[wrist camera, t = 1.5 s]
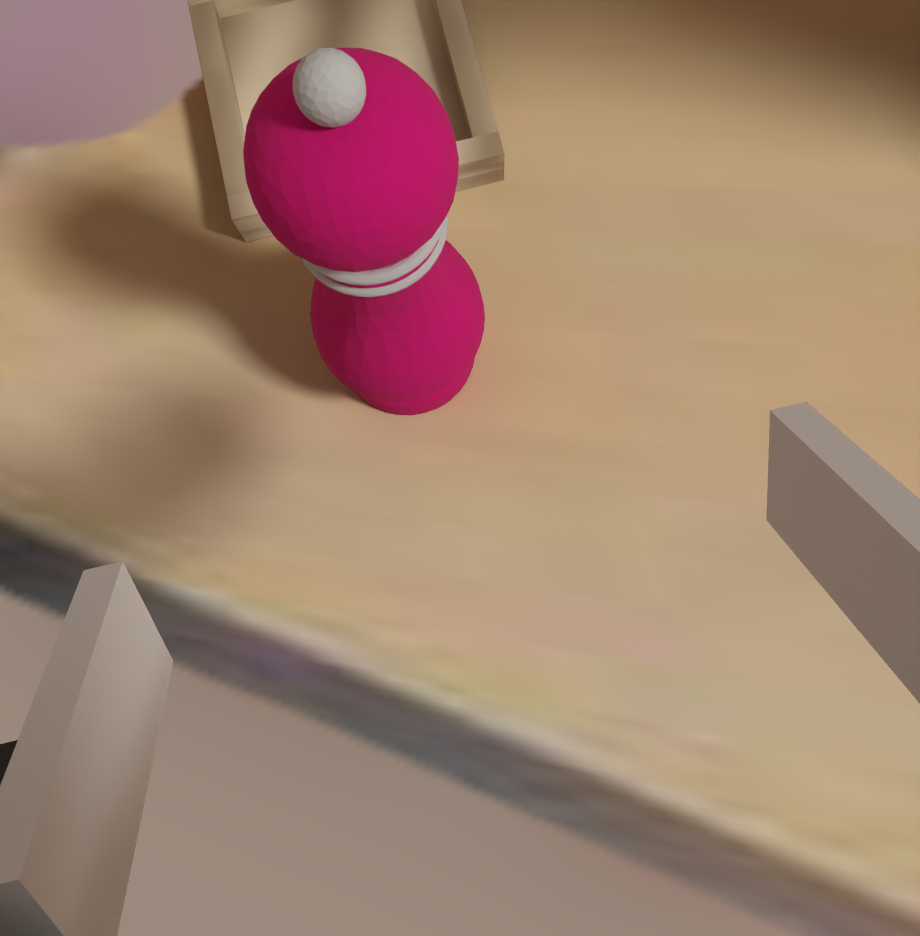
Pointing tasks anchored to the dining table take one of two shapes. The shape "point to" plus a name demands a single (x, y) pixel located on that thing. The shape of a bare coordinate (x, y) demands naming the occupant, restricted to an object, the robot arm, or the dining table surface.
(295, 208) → the pepper mill
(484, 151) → the tray
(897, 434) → the dining table surface
